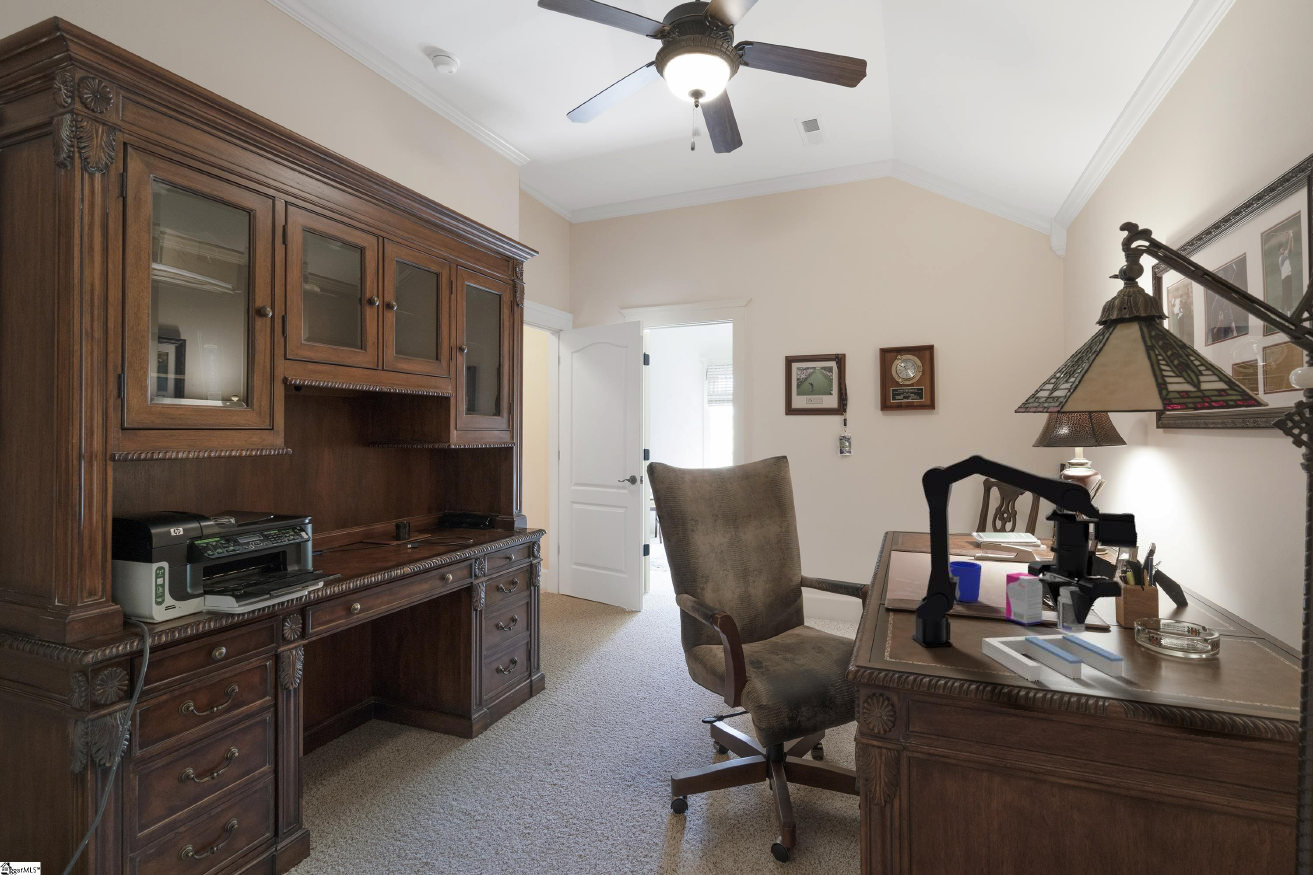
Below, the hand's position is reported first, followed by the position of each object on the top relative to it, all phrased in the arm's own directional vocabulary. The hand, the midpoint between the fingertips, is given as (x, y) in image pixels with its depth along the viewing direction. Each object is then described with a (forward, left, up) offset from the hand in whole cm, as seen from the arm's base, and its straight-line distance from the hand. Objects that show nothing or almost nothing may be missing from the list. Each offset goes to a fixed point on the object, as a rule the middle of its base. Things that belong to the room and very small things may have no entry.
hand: (1071, 619), depth 126 cm
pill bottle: (0, 0, -2) cm, 2 cm away
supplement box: (+9, +26, -10) cm, 29 cm away
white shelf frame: (-4, 0, -9) cm, 10 cm away
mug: (+3, +44, -10) cm, 46 cm away
